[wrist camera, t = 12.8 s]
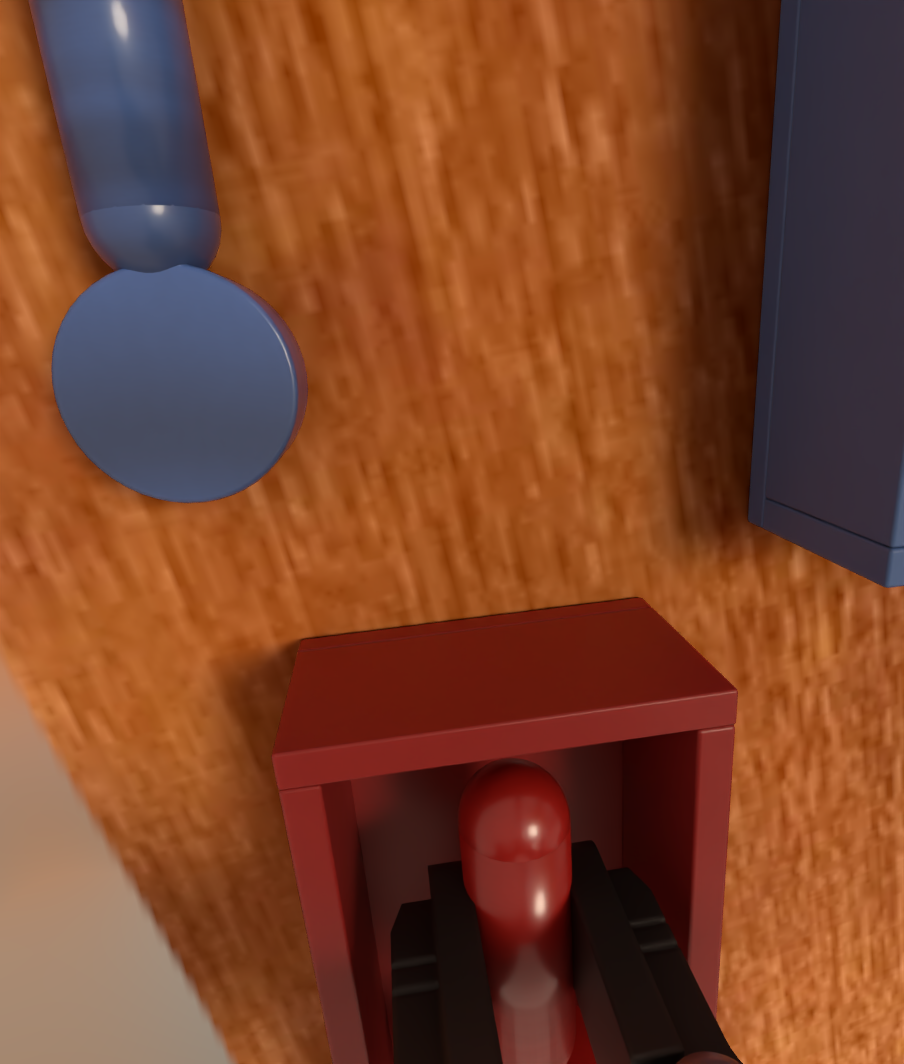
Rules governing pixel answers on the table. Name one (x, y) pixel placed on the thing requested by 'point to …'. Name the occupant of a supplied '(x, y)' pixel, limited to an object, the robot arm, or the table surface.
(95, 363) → the blue spoon
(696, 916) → the red bin
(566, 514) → the table surface
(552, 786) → the red spoon
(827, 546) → the blue bin
